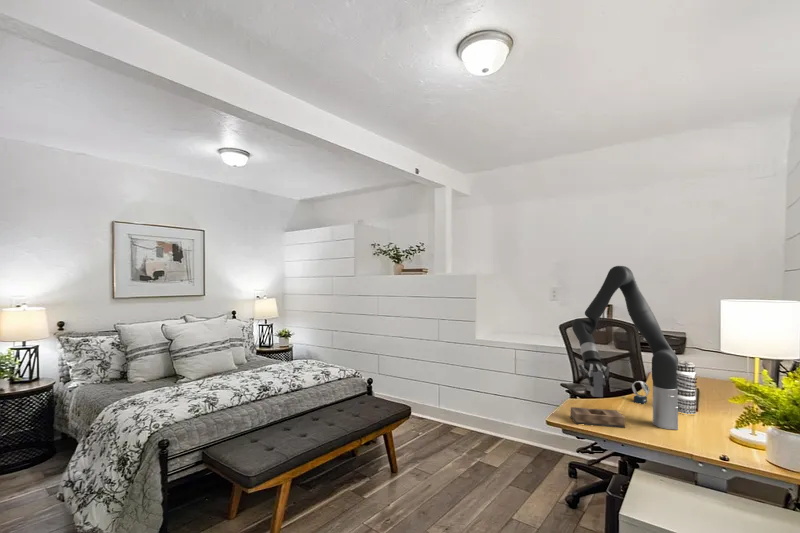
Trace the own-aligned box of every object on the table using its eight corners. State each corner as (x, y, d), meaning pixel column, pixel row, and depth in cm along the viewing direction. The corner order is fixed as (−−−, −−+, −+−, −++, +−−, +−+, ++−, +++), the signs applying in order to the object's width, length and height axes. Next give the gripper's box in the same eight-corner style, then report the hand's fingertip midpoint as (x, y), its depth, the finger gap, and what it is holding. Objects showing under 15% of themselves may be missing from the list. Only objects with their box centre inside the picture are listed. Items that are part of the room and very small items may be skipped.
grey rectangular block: (599, 394, 182) (600, 370, 183) (602, 397, 178) (603, 372, 179) (590, 394, 183) (590, 369, 183) (593, 396, 179) (593, 371, 179)
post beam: (616, 420, 184) (616, 410, 184) (625, 428, 174) (625, 417, 174) (570, 416, 187) (570, 407, 187) (576, 424, 177) (576, 414, 177)
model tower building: (673, 408, 203) (673, 359, 203) (696, 412, 198) (695, 361, 199) (674, 413, 195) (674, 362, 196) (698, 417, 190) (698, 364, 191)
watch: (647, 405, 207) (647, 383, 208) (630, 401, 214) (630, 380, 214) (651, 403, 211) (651, 382, 211) (634, 399, 217) (634, 379, 218)
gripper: (576, 348, 190) (583, 381, 178) (608, 350, 188) (617, 383, 175) (572, 358, 195) (579, 389, 183) (604, 359, 193) (613, 391, 180)
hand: (598, 386), depth 179 cm, fingers closed on grey rectangular block, 4 cm apart
